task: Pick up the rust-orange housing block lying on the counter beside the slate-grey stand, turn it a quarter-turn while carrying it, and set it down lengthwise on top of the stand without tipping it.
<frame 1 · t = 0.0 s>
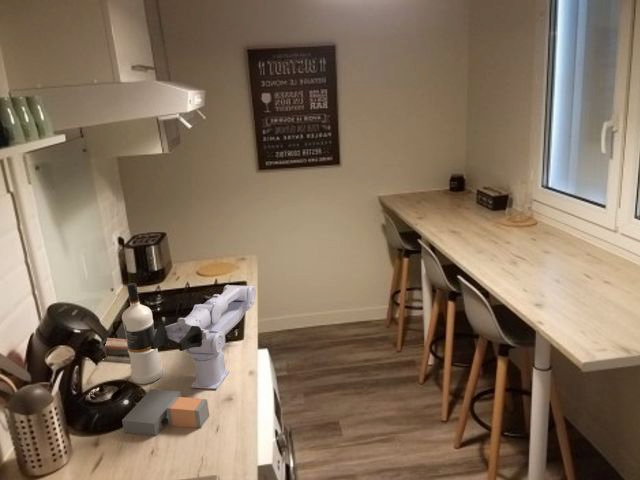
hand: (166, 346, 129), 22 cm above the worktop, tool horizontal, fingers open, 7 cm apart
stand: (154, 416, 138), on the worktop
housing: (189, 420, 135), on the worktop
packaged product: (124, 355, 173), on the worktop
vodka: (148, 377, 157), on the worktop
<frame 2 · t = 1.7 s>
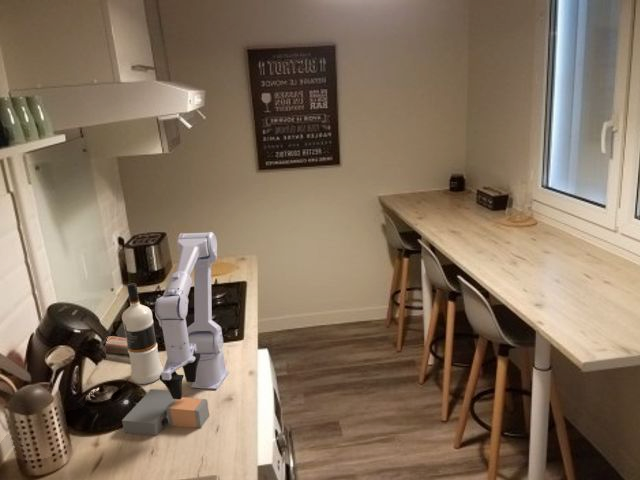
hand: (184, 389, 133), 9 cm above the worktop, tool pointing down, fingers open, 7 cm apart
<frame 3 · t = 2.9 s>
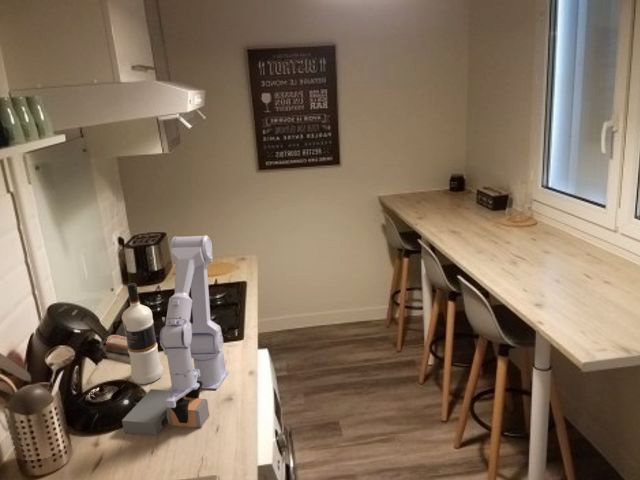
hand: (188, 415, 135), 1 cm above the worktop, tool pointing down, fingers closed on housing, 5 cm apart
housing: (189, 420, 135), on the worktop, touching gripper
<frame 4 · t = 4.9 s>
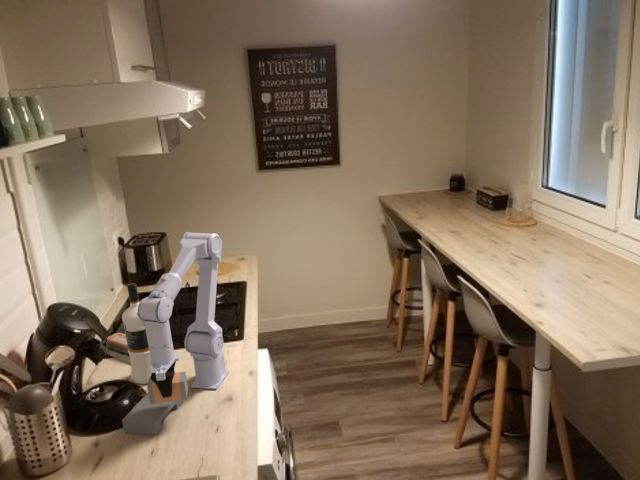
hand: (168, 390, 134), 8 cm above the worktop, tool pointing down, fingers closed on housing, 5 cm apart
housing: (169, 396, 135), point 7 cm above the worktop, touching gripper
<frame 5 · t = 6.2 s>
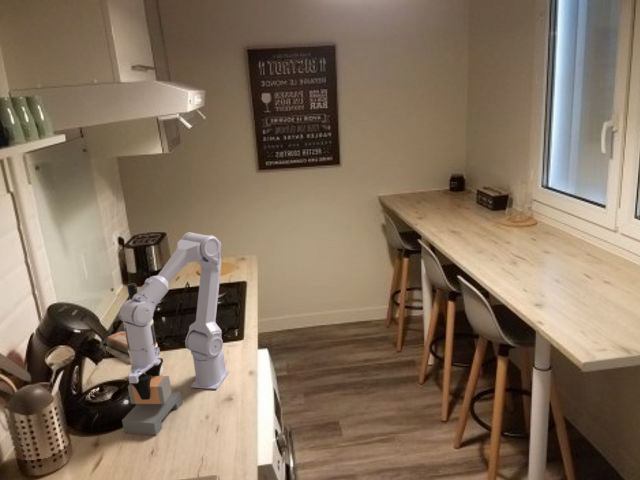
hand: (150, 392, 136), 7 cm above the worktop, tool pointing down, fingers closed on housing, 5 cm apart
housing: (151, 398, 136), point 6 cm above the worktop, touching gripper
when the fingers open (6 cm above the worktop, at t = 7.0 s): housing stays where it is, resting on stand.
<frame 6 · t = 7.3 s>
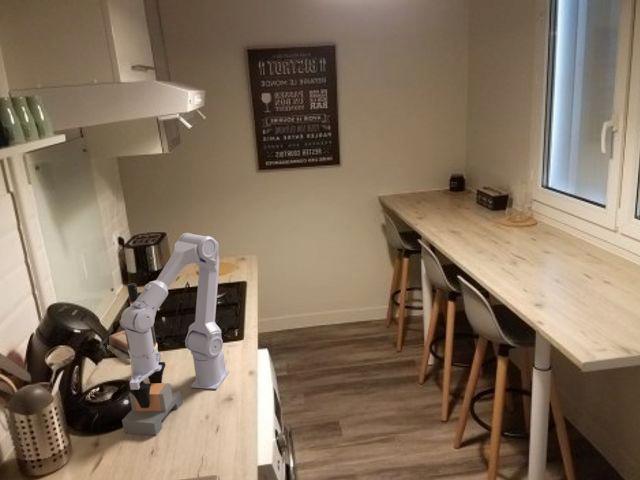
hand: (151, 398, 136), 6 cm above the worktop, tool pointing down, fingers open, 7 cm apart
housing: (153, 405, 137), point 3 cm above the worktop, touching stand
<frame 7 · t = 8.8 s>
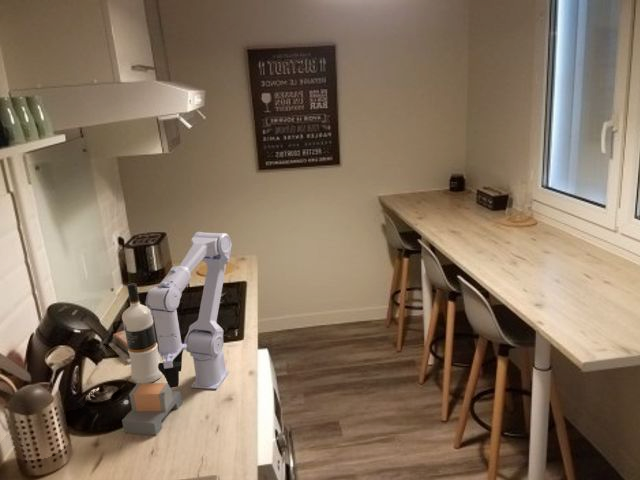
hand: (175, 378, 137), 9 cm above the worktop, tool pointing down, fingers open, 7 cm apart
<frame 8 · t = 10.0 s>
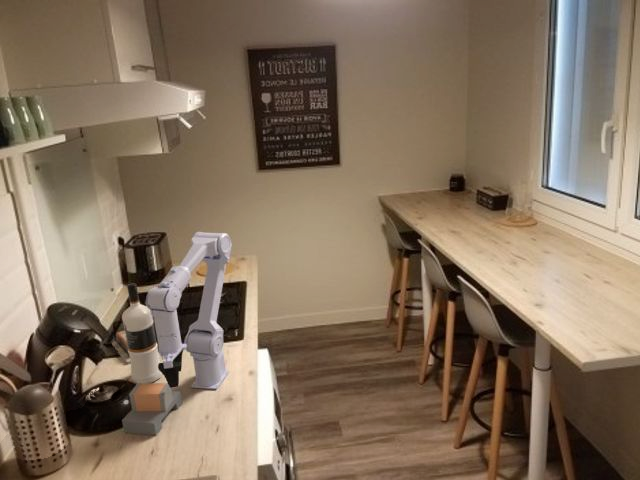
hand: (175, 378, 137), 9 cm above the worktop, tool pointing down, fingers open, 7 cm apart
at the end: housing 0.1 cm off-centre on the stand, point 3.5 cm above the stand's base; housing tilted 0°; the gripper is holding nothing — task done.
